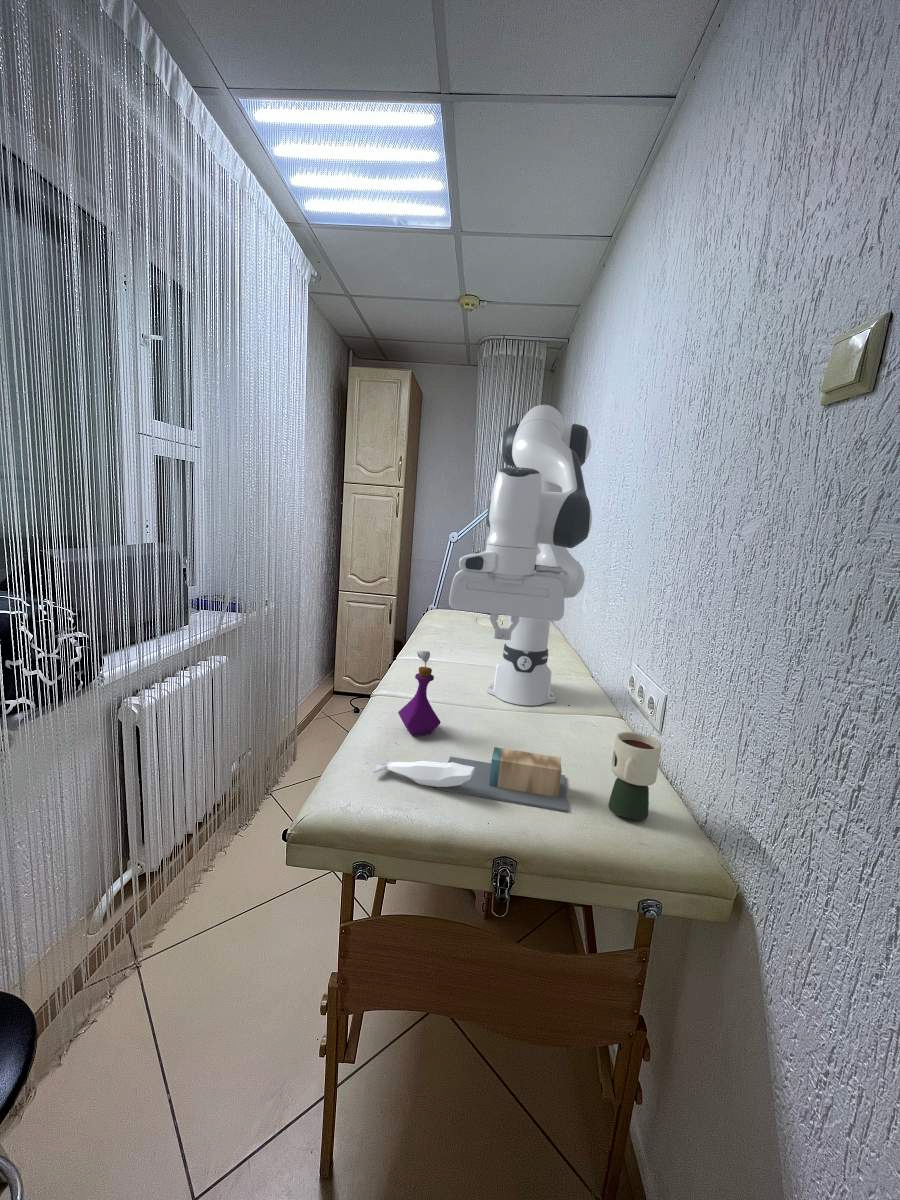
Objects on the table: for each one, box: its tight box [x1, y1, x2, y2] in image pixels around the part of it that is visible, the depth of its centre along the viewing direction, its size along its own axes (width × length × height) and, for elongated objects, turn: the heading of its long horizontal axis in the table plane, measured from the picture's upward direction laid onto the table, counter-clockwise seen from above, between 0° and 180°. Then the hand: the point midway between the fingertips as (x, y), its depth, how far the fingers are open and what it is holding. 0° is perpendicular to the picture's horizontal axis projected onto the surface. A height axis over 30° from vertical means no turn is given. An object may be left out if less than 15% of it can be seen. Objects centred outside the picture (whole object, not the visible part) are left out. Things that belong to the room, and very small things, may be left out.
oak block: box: [489, 746, 562, 797], centre depth 89 cm, size 5×5×12 cm
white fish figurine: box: [372, 757, 476, 788], centre depth 87 cm, size 6×18×4 cm, turn 71°
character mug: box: [607, 731, 662, 821], centre depth 83 cm, size 11×7×13 cm, turn 147°
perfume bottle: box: [397, 650, 441, 737], centre depth 108 cm, size 8×8×18 cm
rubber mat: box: [437, 756, 569, 813], centre depth 90 cm, size 12×22×1 cm, turn 80°
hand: (502, 638), depth 90 cm, fingers closed
